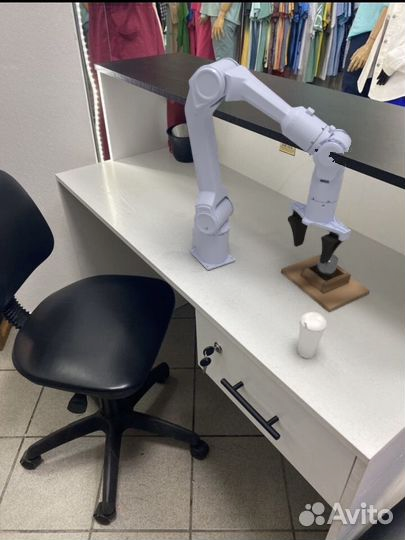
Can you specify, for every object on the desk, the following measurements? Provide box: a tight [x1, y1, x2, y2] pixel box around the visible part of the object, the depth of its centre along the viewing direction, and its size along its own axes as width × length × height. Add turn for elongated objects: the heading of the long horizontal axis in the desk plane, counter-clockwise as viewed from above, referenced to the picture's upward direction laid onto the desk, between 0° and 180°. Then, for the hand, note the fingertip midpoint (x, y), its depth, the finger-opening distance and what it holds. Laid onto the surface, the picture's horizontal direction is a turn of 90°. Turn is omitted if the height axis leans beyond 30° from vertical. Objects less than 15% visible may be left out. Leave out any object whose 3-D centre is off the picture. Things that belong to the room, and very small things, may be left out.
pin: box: [316, 253, 339, 281], centre depth 87 cm, size 4×4×6 cm
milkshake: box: [297, 311, 328, 360], centre depth 70 cm, size 4×5×10 cm
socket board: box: [280, 254, 371, 313], centre depth 89 cm, size 16×12×4 cm
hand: (311, 253), depth 84 cm, fingers open, 7 cm apart
